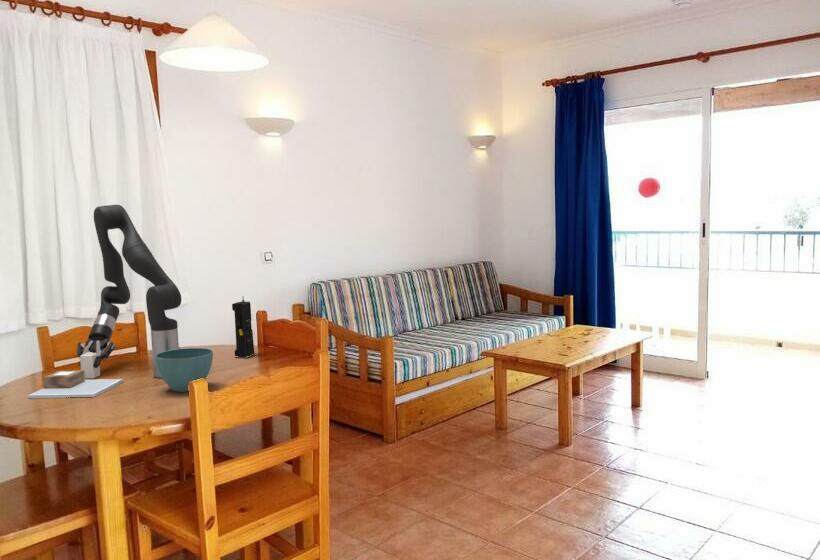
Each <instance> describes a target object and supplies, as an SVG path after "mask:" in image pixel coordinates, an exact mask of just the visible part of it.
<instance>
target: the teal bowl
mask: <svg viewBox="0 0 820 560" xmlns="http://www.w3.org/2000/svg"><path fill="white" fill-rule="evenodd" d="M213 356H214V350H213V349H210V348H205V347H189V348H188V347H187V348H181V349H176V350H169V351H165V352H161V353H158V354H156V355H155V358H156V364H157V367H158V370H159V372H160V375H161V376H162V380H163V381H164V382H165V384H166V385H167V387H169V388H170V389H171V390H172V391H173V392H176V393H177V392H178V393H187V392H188V393H189V391H188V385H189V382H190V381H193V380H197V379H200V378H204V379H205V380H206V379H207V377H208V376H209V374H210V371H211V367H212V364H213V358H214V357H213Z"/></svg>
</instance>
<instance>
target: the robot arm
mask: <svg viewBox="0 0 820 560" xmlns="http://www.w3.org/2000/svg"><path fill="white" fill-rule="evenodd" d="M93 222H94V226H95V227H94V228H95V231H96V236H97V241H98V244H99V248H100V252H101V257H102V262H103V275H104V279H105V281H106V282H109V283H112V284H114V285H109V286H108V285H107V286H105V287H104V288H102V290H101V293H100V305H99V310H98V312H97V315H96V317H95V320H94V321H93V322H92V323H93V324H92V327H91V329H90V332H89V333H88V339H87V340H86V341H85V342H83V343H82V342H80V341H79V342H77V344H76V345H77V348H76V356H77V357H78V358H79V359H80V356H81V355H84V354H86V353H88V352H93V353H97V357H96V359H95V361H94V364H93V366H94V368H97V367H99V366H100V365H101V362H102V360H103V359H108V358H109V357H110V355H111V354H112V352H113V351H114V350H115V348H116V345H115V343H114V342H113V341H111V339H112V335H113V333H114V330H115V327H116V323H117V320H118V317H119V315H120V308H119V306H117V305H126V304H127V303H128V302H129V301H130V299H131V291H130V288H129V286H128V284H127V280H126V277H125V273H124V271H125V270H124V260H125V262H126V263H127V265H128V267H129V268H130V269H131V270H132V271H133V272H135V273H136V274H137V275H139V276H140V277H142V278H144V279H146V280H147V281H149V283H152V284H153V286H150V287H148V289H147V291H146V294H145V295H146V296H145V302H146V303H145V304H146V311H147V319H148V323H149V326H150V338H151V340H150V341H151V352H152V353H151V355H152V368H153V369H152V370H153V371H152V372H153V377H154V378H157V379H158V378H159V379H161V378H162V376H161V375H160V372H159V370H158V367H157V364H156V358H155V355H156V354H158V353H161V352H165V351H169V350H176V349H182V347H180V345H179V344H180V343H179V330H178V329H179V328H178V327H179V326H178V321H177V320H176V319H174V318H170V317H167V316H166V312H165V311H168V310H174V309H177V308H178V307H180V305H181V304H182V295H181V294H182V293H181V292H180V289H179V288H178V286H177V285H176V284H175V282H174V281H173V280H172V279H171V278H170V277H169V276H168V275H167V273H166V272H165V271H164V270H163V267H161V265H160V264H159V262H158V261H157V259H156V258H155V256H154V255H153V253H152V252H151V250H150V249H149V247H148V246H147V244H146V243H145V241H144V240H143V239H142V237H141V236H140V234H139V233H138V230H137V229H136V226H134V224H133V222H132V219H131V217H130V216H129V214H128V212H127V210H126V209H125V208H124V207H123V206H122V205H120V204H109V205H100V206H97V207H95V208H94V211H93ZM116 229H117V230H118V229H119V230H120V231H121V232H122V234H123V242H122V243H123V244H122V248H121V253H120V252H119V251H118V250H117V248H116V247H115V246H114V245H113V243H112V241H111V239H110V237H109V230H116ZM121 254H122V256H121ZM122 257H123V258H122ZM123 259H124V260H123ZM78 366H79V367H80V368H81V363H80V361H79V362H78ZM162 379H163V378H162Z"/></svg>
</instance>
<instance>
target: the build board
mask: <svg viewBox="0 0 820 560" xmlns="http://www.w3.org/2000/svg"><path fill="white" fill-rule="evenodd" d="M122 383H124V379H123V378H115V379H114V378H112V379H111V378H108V379H107V378H105V379H85V377H84V370H81V369H80V370H79V369H78V370H77V369H75V370H57V371H54V372H52V373H50V374H47V375H44V376H43V388H40V389H39V390H37V391H34V392H32V393H30V394H27V395H26V398H31V399H71V398H70V397H93V398H95V396H96V397H98V396H100V395H101V394H103V393H105V392H107V391H108V390H111V389H113V388H114V387H116V386H119V385H120V384H122ZM97 395H98V396H97ZM66 397H67V398H66ZM68 397H69V398H68Z"/></svg>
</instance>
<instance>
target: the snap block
mask: <svg viewBox="0 0 820 560" xmlns="http://www.w3.org/2000/svg"><path fill="white" fill-rule="evenodd" d="M96 357H97V352H94V353H93V352H88V353H86V354H84V355H81V356H80V358H79V362H80V363H81V367H80V370H84V377H85V378H94V379H95V378H98V377H100V376H101V368H100V365H99V367H97V368H94V366H93V364H94V361H95V359H96ZM97 376H98V377H97Z"/></svg>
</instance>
